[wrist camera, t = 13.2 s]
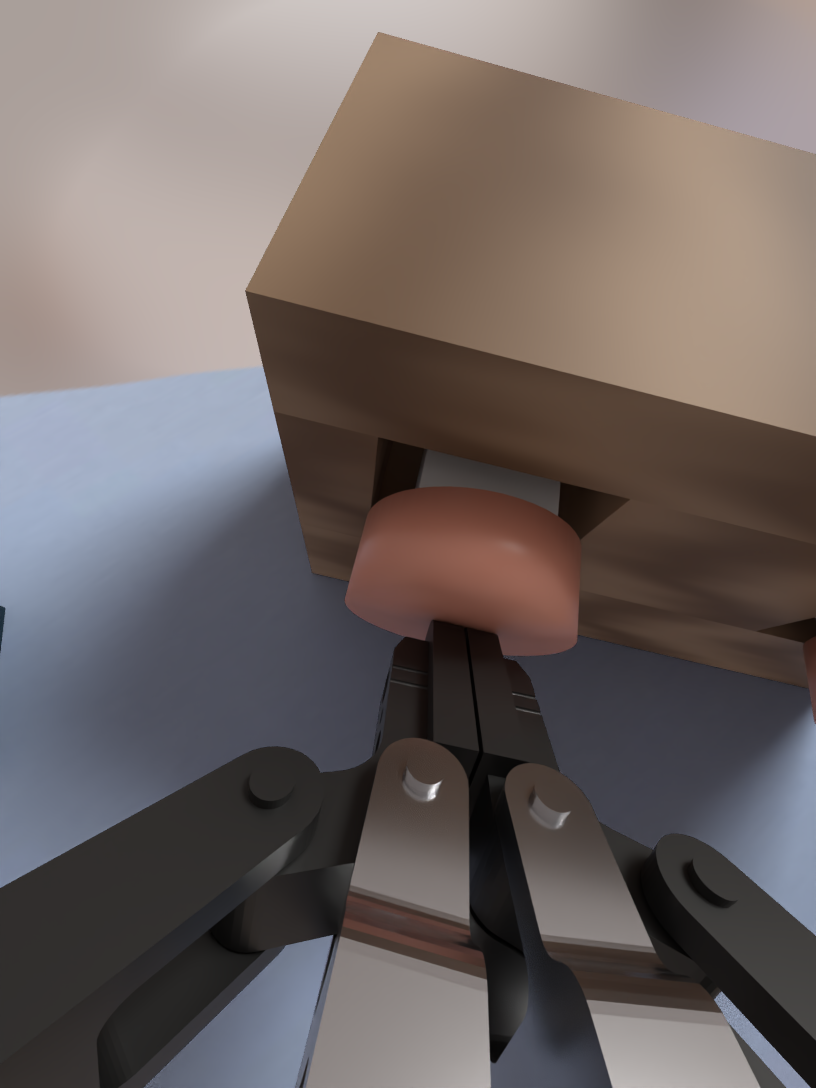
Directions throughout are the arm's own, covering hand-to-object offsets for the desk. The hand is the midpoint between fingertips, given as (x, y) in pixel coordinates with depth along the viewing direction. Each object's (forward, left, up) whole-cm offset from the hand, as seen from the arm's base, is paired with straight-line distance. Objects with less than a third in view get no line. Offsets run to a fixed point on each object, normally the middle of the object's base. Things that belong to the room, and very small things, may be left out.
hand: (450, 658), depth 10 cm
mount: (-6, -7, -6) cm, 11 cm away
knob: (0, -6, -2) cm, 6 cm away
